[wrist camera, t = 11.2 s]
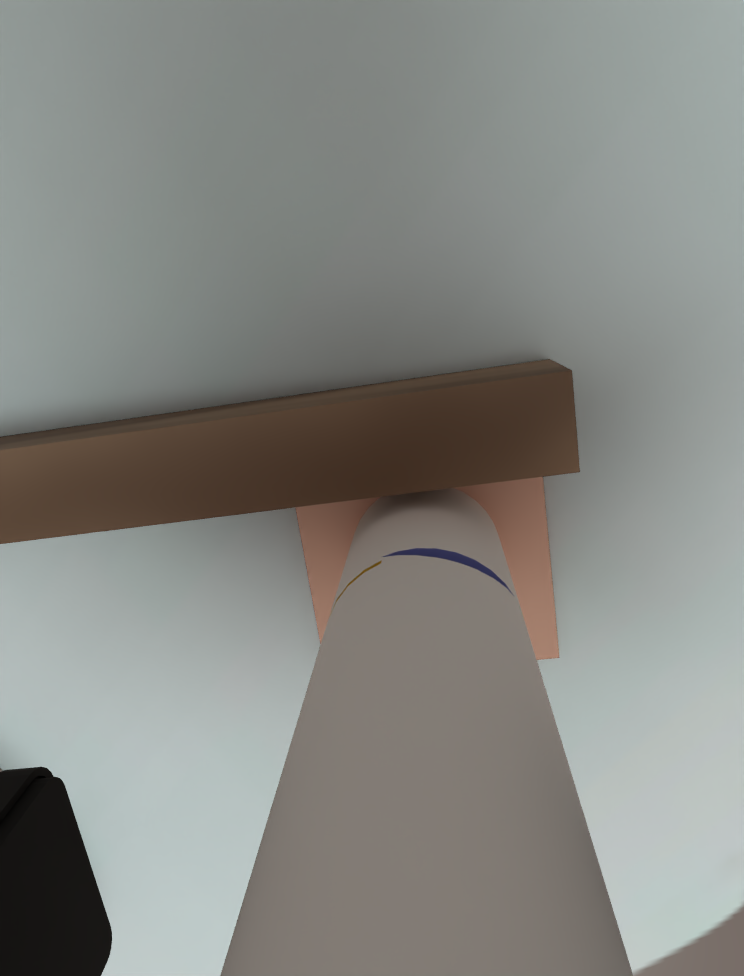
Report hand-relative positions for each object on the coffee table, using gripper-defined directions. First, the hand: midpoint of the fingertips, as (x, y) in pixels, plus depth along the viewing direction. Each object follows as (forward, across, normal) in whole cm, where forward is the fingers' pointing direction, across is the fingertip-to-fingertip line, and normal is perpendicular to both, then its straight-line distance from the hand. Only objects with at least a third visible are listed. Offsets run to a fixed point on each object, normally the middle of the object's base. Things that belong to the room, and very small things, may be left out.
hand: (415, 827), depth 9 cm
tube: (+12, 0, +1) cm, 12 cm away
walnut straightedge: (+12, +8, -3) cm, 15 cm away
